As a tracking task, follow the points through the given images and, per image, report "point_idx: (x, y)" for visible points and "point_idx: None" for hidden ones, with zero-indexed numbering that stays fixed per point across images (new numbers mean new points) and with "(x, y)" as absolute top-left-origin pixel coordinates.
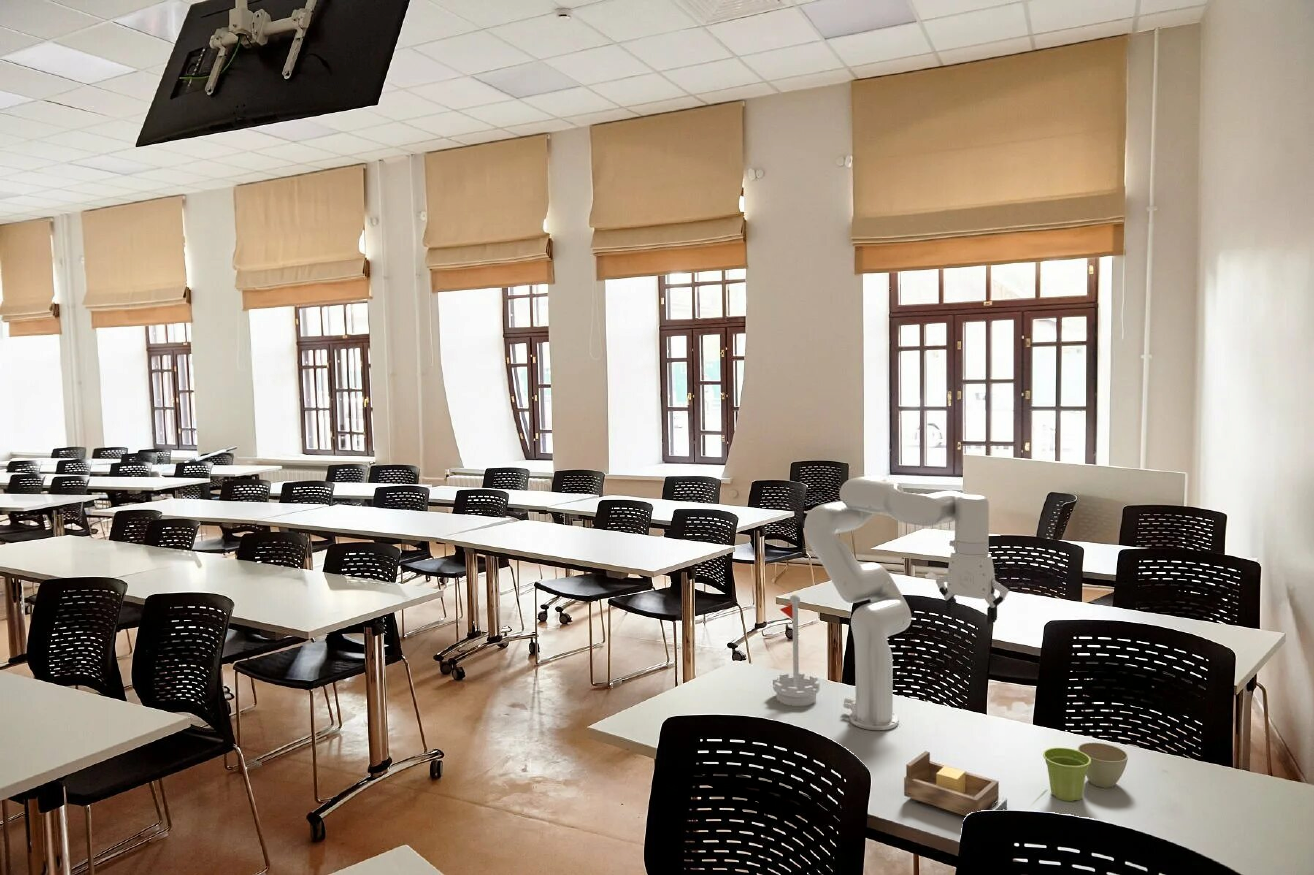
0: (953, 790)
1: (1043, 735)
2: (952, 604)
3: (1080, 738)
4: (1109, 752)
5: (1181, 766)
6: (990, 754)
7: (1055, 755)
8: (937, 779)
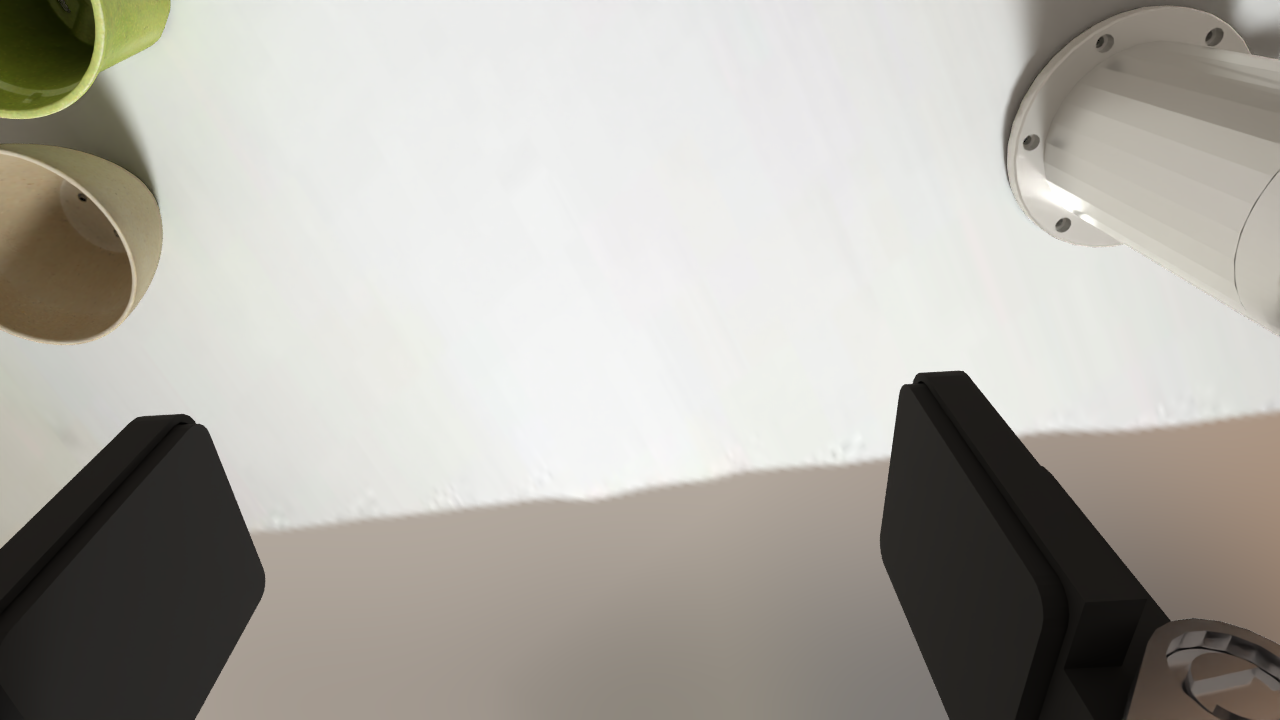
0: None
1: (498, 447)
2: (982, 607)
3: (397, 498)
4: (83, 323)
5: None
6: (551, 159)
7: (105, 55)
8: None
